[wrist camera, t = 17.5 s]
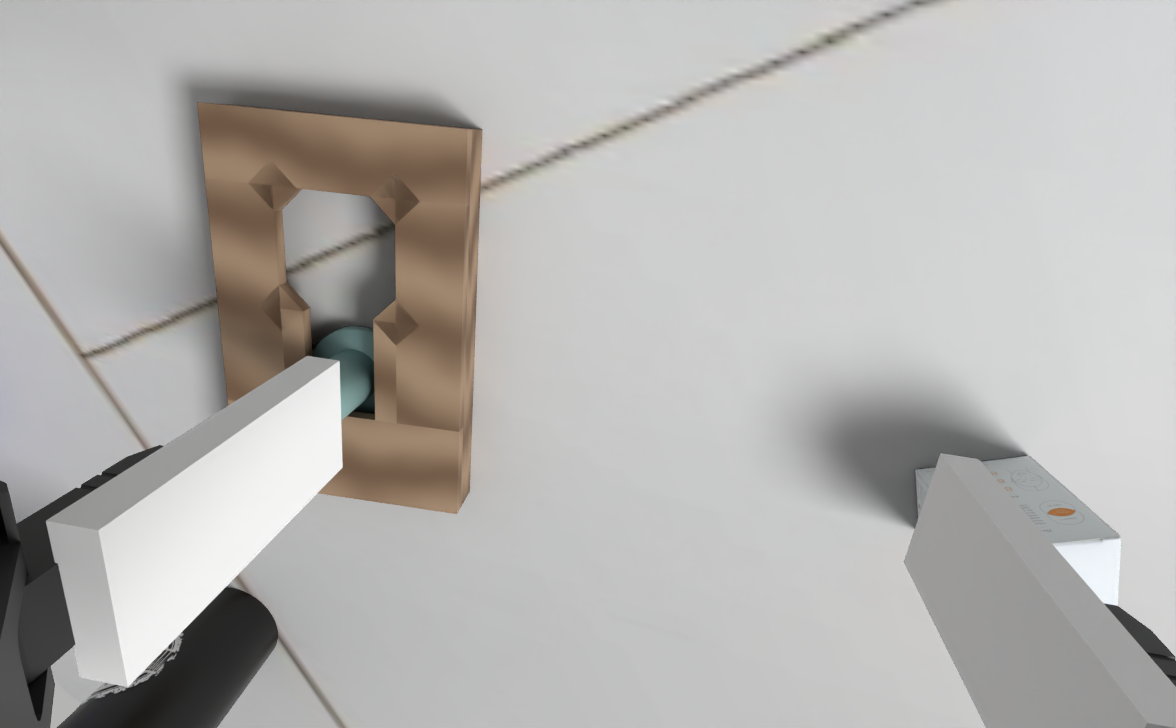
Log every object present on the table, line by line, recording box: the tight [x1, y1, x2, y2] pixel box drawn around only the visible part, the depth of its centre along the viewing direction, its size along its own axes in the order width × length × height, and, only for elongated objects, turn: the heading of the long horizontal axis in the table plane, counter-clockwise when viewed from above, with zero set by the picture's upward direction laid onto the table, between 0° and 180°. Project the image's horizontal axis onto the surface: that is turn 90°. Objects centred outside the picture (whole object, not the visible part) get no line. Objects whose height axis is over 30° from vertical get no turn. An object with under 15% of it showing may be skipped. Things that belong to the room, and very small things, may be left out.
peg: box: [312, 326, 375, 421], centre depth 44 cm, size 7×7×16 cm
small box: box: [915, 456, 1121, 605], centre depth 44 cm, size 8×6×10 cm
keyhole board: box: [197, 103, 482, 514], centre depth 49 cm, size 28×18×3 cm, turn 175°
